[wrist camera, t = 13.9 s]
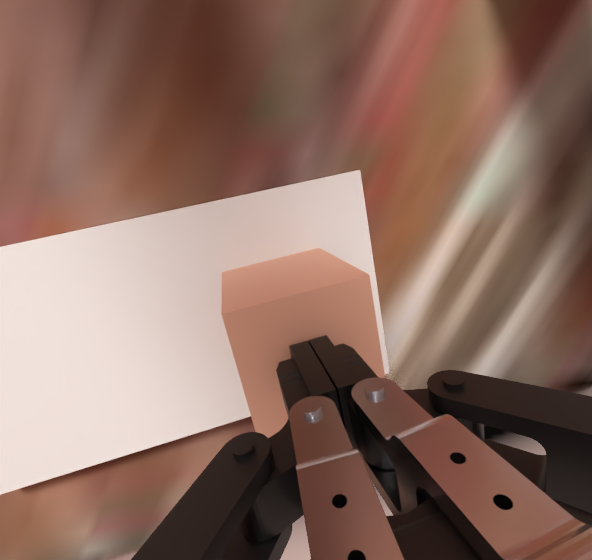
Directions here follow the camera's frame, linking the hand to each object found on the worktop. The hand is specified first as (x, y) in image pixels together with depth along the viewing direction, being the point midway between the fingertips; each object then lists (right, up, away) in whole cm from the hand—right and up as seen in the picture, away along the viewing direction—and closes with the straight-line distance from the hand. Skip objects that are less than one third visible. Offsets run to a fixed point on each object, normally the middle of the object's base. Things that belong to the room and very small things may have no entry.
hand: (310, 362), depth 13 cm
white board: (-7, +1, +7) cm, 10 cm away
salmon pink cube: (-1, +2, +7) cm, 7 cm away
